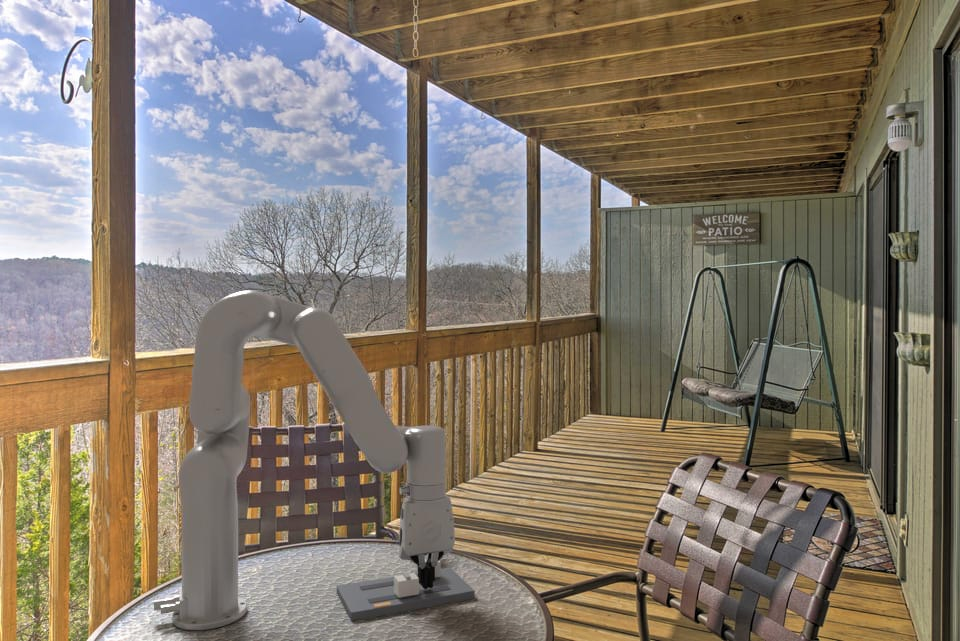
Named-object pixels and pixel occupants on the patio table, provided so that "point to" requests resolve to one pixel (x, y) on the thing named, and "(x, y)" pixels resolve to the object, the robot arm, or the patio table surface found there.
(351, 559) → the patio table surface
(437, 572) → the tab far
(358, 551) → the patio table surface
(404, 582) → the tab near
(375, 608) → the switch panel
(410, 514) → the robot arm
